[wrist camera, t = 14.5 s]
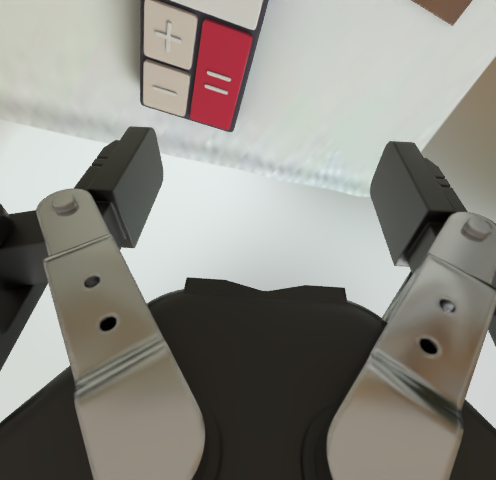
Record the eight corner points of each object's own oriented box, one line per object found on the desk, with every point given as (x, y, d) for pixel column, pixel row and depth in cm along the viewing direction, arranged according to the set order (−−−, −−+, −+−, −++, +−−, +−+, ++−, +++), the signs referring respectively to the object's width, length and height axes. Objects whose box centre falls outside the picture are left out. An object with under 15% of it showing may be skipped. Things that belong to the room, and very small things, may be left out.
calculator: (137, 108, 34) (137, -78, 23) (149, 91, 37) (153, -82, 25) (232, 137, 36) (275, -24, 24) (236, 119, 38) (276, -33, 27)
